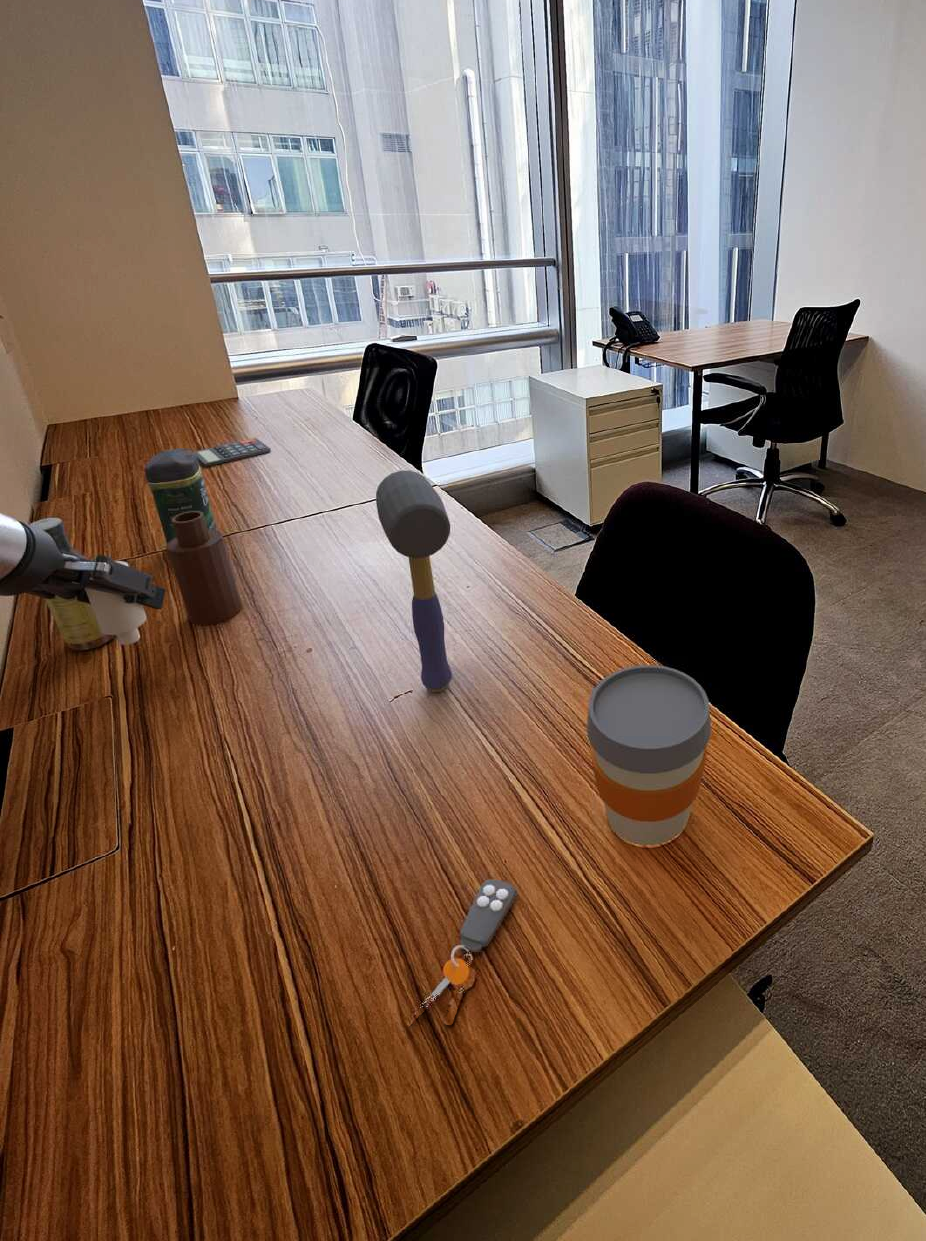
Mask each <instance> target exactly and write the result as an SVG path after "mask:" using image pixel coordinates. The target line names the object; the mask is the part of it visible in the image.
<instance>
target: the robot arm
mask: <svg viewBox="0 0 926 1241" xmlns="http://www.w3.org/2000/svg"><path fill="white" fill-rule="evenodd" d="M115 561H116V560H114V559H113V558H112V557H110V556H108V555H105V554H101V555H96V557H95V558H93V560H91V559H88V558H87V559H84V558H81V557H77V556H73V555H71V554H70V553H69V552H66V551H63V550H58V548H57V546H56V544H55V542H54V540H53V538H52V537H51V536H50V535H49V534H48V533H47V532H45V531H43V530H41V529H39V528H36V527H33V526H31V525H29V524H28V523H25V522H23V521H20V520H17V519H15V518H13V517H11V516H9V515H6V514H5V513H1V512H0V596H1V597H14V596H18V595H23V594H28V595H31V596H34V597H38V598H43V599H44V598H46V599H55V597H56V596H59V597H61V598H63V599H66V600H71V599H75V598H77V601H81V602H84V603H88V604H91V603H90V601H89V598H88V595H87V593H86V590H85V588H89V589H93V590H98V591H102V592H107V593H112V594H116V595H121V596H124V597H123V599H124V600H126V601H125V603H138V604H141V605H143V607H147V608H150V609H154V610H162V608H163V605H164V604H163V603H164V599H165V595H166V587H165V588H164V587H161V586H159V585H156V584H154V583H152V581H153V575H152V574H149V573H146V572H144V571H142V570H138V569H136V568H133V567H131V566H129V565H128V566H129V567H128V566H126V565H123V564H120V563H118V562H115Z"/></svg>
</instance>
